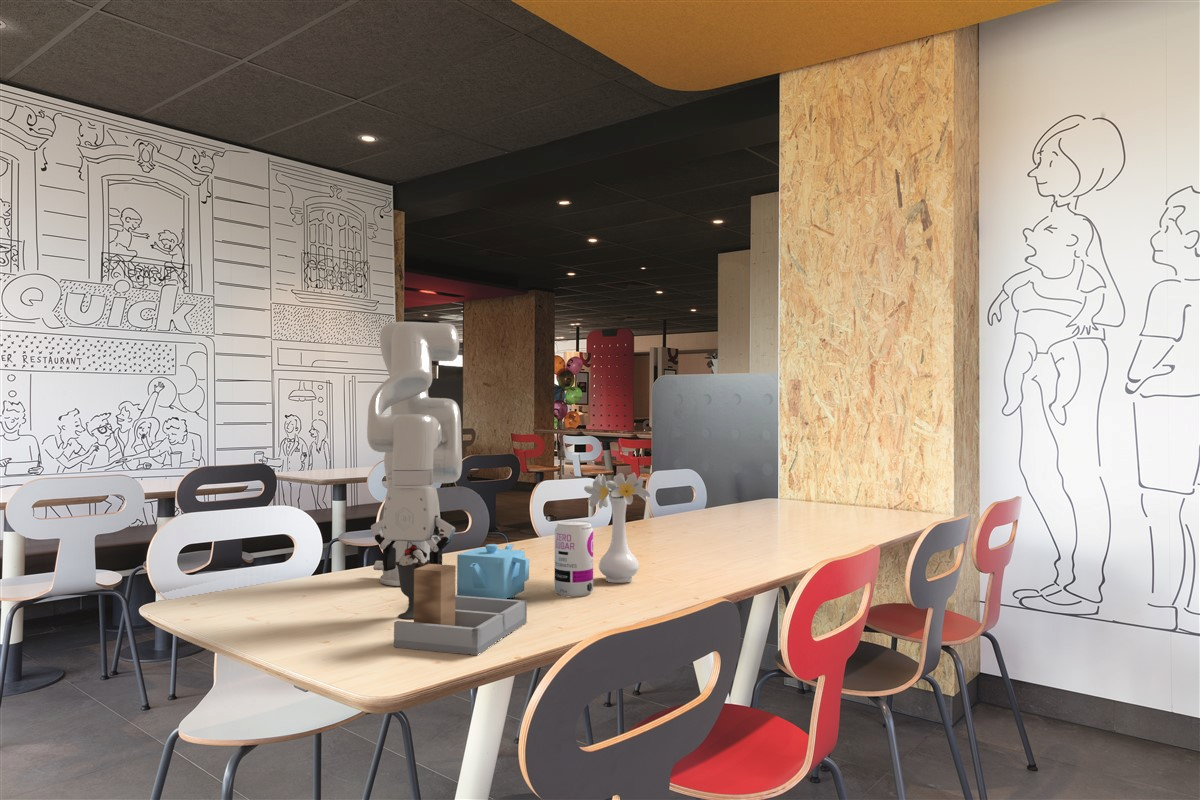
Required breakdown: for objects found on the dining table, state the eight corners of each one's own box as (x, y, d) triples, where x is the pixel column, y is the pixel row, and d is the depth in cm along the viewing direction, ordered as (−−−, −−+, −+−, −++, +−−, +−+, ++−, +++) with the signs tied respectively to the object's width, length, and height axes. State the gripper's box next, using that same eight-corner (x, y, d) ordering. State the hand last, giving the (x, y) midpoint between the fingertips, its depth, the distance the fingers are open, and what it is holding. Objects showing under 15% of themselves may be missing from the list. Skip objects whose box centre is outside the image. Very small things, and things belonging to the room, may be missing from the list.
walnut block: (413, 636, 126) (414, 569, 126) (428, 628, 131) (429, 563, 131) (440, 638, 124) (441, 571, 125) (455, 630, 129) (455, 565, 129)
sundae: (398, 622, 139) (398, 539, 139) (390, 614, 145) (390, 534, 145) (433, 618, 142) (434, 537, 142) (424, 610, 148) (425, 532, 148)
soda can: (594, 589, 166) (595, 520, 166) (590, 598, 158) (590, 525, 158) (558, 588, 167) (558, 519, 167) (551, 597, 159) (552, 525, 159)
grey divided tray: (393, 646, 124) (394, 622, 124) (452, 616, 143) (452, 595, 143) (477, 655, 119) (477, 629, 120) (526, 622, 139) (526, 600, 139)
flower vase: (608, 570, 186) (609, 468, 187) (664, 582, 173) (664, 472, 173) (568, 578, 178) (568, 470, 178) (623, 591, 164) (623, 475, 165)
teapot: (436, 605, 151) (437, 548, 151) (481, 587, 168) (481, 535, 168) (508, 613, 146) (508, 554, 146) (546, 592, 163) (547, 539, 163)
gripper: (361, 480, 143) (360, 572, 142) (444, 481, 138) (443, 576, 137) (384, 478, 150) (383, 566, 149) (463, 479, 145) (463, 570, 144)
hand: (412, 571), depth 143 cm, fingers open, 9 cm apart
